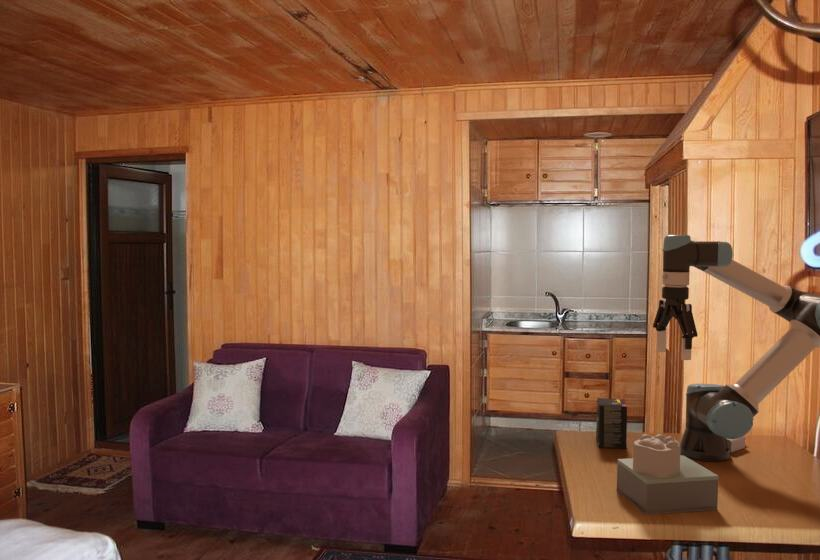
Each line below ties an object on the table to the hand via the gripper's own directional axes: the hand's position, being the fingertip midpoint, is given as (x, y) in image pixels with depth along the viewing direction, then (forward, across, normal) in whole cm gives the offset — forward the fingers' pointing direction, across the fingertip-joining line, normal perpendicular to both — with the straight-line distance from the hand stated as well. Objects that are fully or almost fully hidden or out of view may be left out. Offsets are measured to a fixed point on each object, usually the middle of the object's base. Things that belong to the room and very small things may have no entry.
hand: (673, 355), depth 203 cm
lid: (+27, +23, -15) cm, 38 cm away
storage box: (+35, +23, -15) cm, 44 cm away
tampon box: (+35, -25, -7) cm, 44 cm away
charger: (+35, -16, +32) cm, 50 cm away
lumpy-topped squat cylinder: (+26, +24, -18) cm, 40 cm away
